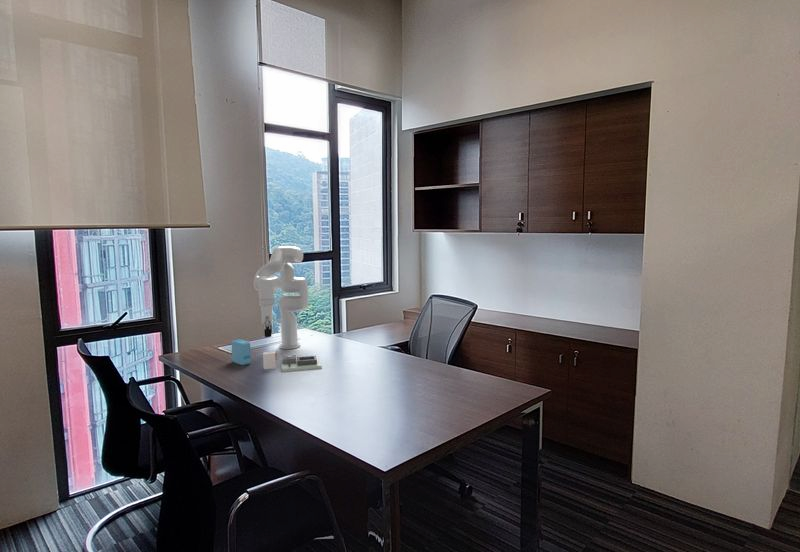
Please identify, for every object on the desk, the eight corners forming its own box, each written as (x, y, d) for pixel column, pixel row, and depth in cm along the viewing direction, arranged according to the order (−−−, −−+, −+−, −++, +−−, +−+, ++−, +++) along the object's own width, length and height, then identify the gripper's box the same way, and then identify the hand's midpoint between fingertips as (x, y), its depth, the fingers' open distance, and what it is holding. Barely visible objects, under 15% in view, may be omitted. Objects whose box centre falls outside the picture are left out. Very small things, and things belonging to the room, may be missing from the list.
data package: (251, 364, 257) (250, 342, 256) (243, 365, 254) (242, 343, 252) (239, 360, 265) (238, 338, 264) (232, 361, 262) (231, 340, 260)
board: (281, 363, 257) (281, 354, 257) (319, 360, 262) (318, 351, 262) (281, 371, 242) (281, 362, 242) (321, 368, 247) (321, 359, 246)
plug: (263, 367, 251) (263, 352, 250) (277, 366, 252) (277, 351, 251) (263, 369, 247) (263, 354, 246) (277, 368, 248) (277, 353, 247)
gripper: (259, 300, 253) (261, 332, 255) (258, 304, 236) (259, 339, 238) (274, 299, 255) (275, 331, 256) (274, 304, 238) (275, 338, 240)
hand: (268, 334), depth 247 cm, fingers open, 9 cm apart
